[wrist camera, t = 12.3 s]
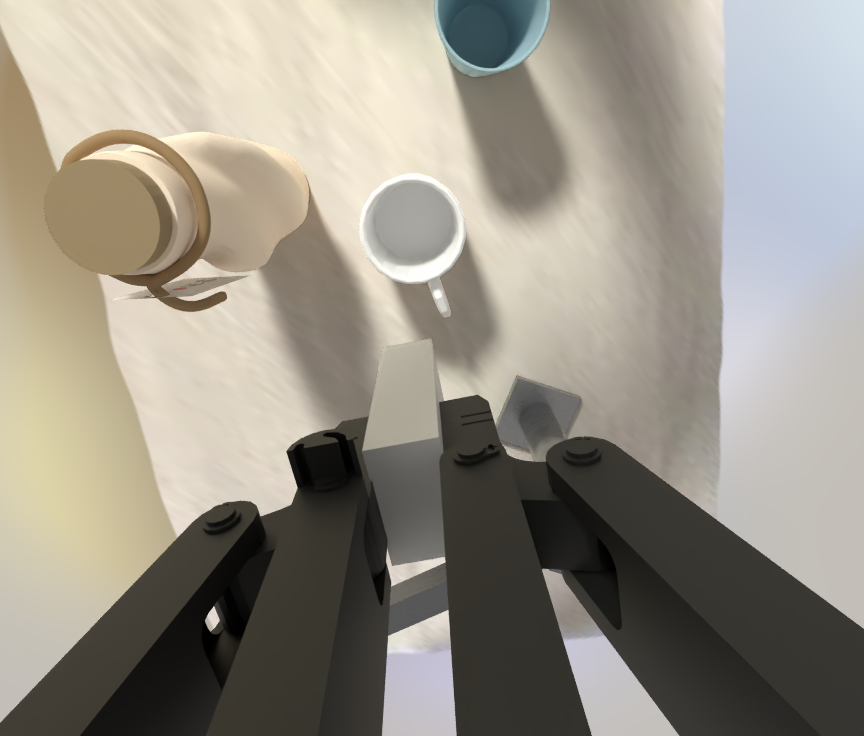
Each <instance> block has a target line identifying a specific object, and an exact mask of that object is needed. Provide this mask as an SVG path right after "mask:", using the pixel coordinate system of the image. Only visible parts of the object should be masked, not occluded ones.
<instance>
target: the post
mask: <svg viewBox="0 0 864 736" xmlns="http://www.w3.org/2000/svg"><path fill="white" fill-rule="evenodd" d="M581 400H582V399H581V398H580V396H577V395H574V394H571V393H568V392H565V391H562V390H559V389H556V388H553V387H550V386H547V385H544V384H541V383H538V382H535V381H532V380H529V379H526V378H523V377H520V376H516V379H515V381H514V383H513V385H512V388H511V390H510V392H509V395H508V397H507V399H506V402H505V404H504V406H503V409H502V411H501V413H500V416H499V418H498V420H497V423H496V425H495V426H496V429H497V433H498V436H499V440H500V441H504V442H507V443H510V444H513V445H516V446H519V447H523V448H526V449H529V450H530V452H531V454H532V457H533V459H534V462H546V454H547V451H548V450H549V449H550V448H551V447H552V446H554V445H555V444H557V443H559V442H562V441H564V440H568V439H567V437H566V435H565V433H566V431H567V429H568V427H569V425H570V423H571V421H572V419H573V416H574V414H575V412H576V410H577V408H578V406H579V404H580V402H581ZM549 570H550V571H553V572H557V573H560V574H562V573H561V570H558V569H549Z"/></svg>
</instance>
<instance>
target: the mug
mask: <svg viewBox="0 0 864 736" xmlns="http://www.w3.org/2000/svg"><path fill="white" fill-rule="evenodd" d="M359 231H360V242H361V245H362V247H363V250H364V252H365V255H366V257H367V259H368V260H369V261H370V262H371V264H372V265H373V266H374V267H375V268H376V270H377V271H378V272H380V273H381V274H383V275H385V276H386V277H388V278H389V279H391V280H393V281H397V282H401V283H405V284H424V283H428V286H429V288H430V291H431V294H432V296H433V299H434V301H435V303H436V306H437V308H438V310H439V312H440V313H441V315H442V316H443V317H444V318H447V317H450V316H451V309H450V306H449V303H448V300H447V297H446V294H445V291H444V288H443V285H442V283H441V280H440V277H441V276H442V275H443V274H445V273H446V272H447V271H448V270H450V269H451V268H452V267H453V265H454V264H455V262H456V261H457V259H458V258H459V256H460V255H461V253H462V250H463V246H464V243H465V239H466V219H465V217H464V214H463V211H462V208H461V205H460V203H459V202H458V200H457V199H456V198H455V196H454V195H453V194H452V192H451V191H450V190H449V189H448V188H447V187H445V186H444V185H443V184H441V183H440V182H438V181H437V180H435V179H434V178H432V177H429V176H426V175H422V174H419V173H415V174H403V175H400V176H398V177H396V178H393V179H391V180H389V181H386V182H384V183H383V184H382V185H381V186H380V187H379V188H377V189H376V190H375V191H374V192H373V193H372V194H371V195H370V197H369V199H368V201H367V202H366V204H365V206H364V207H363V210H362V214H361V219H360V223H359Z"/></svg>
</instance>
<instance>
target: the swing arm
mask: <svg viewBox="0 0 864 736" xmlns="http://www.w3.org/2000/svg"><path fill="white" fill-rule="evenodd" d="M541 569H543V568H541ZM446 610H449V607H448V591H447V576H446V563H443V564H441V565H439V566H437V567H434V568H432V569H430V570H428V571H425V572H423V573H421V574H419V575H416V576H414V577H412V578H410V579H408V580H405V581H403V582H401V583H399V584H396V585H394V586H392V587H391V594H390V610H389V627H388V636H389V635H391V634H393V633H396V632H398V631H400V630H402V629H405V628H407V627H409V626H412V625H414V624H416V623H419V622H421V621H423V620H426V619H428V618H430V617H433V616H435V615H437V614H439V613H442V612H444V611H446Z"/></svg>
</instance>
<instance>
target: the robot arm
mask: <svg viewBox="0 0 864 736" xmlns="http://www.w3.org/2000/svg"><path fill="white" fill-rule="evenodd" d="M286 452H287V455H288V458H289V461H290V465H291V468H292V471H293V474H294V477H295V480H296V484H297V487H298V489H297V491H296V494H295V497H294V499H293V502H292V505H290V506H288V507H285V508H283V509H281V510H278V511H275V512H272V513H270V514H267V515H264V516H261V517H260V514H259V511H258V508H257V506H256V505H255V504H253V503H252V502H248V501H236V502H227V503H223V504H222V505H221V504H220V505H218V506H215V507H213V508H212V509H211V510H209V511H207V512H206V513H204V514H202V515H201V516H200V517H199V518H197V519H196V520H195V521H194V522H192V524H191V525H190V526H189V527H188V528H187V529H186V530H185V531H184V532H183V533H182V534H181V535H180V536H179V537H178V538H177V539H176V540H175V541H174V542H173V543H172V544H171V546H169V547H168V549H167V550H166V551H165V552H164V553H163V554H162V555H161V556H160V557H159V558H158V559H157V560H156V561H155V562H154V563H153V564H152V565H151V566H150V567H149V568H148V569H147V570H146V571H145V573H144V574H143V575H142V576H141V577H140V578H139V579H138V580H137V581H136V582H135V583H134V584H133V585H132V586H131V587H130V588H129V589H128V590H127V591H126V592H125V593H124V594H123V596H122V597H121V598H120V599H119V600H118V601H117V602H116V603H115V604H114V605H113V606H112V607H111V608H110V609H109V610H108V611H107V612H106V613H105V614H104V615H103V616H102V617H101V618H100V619H99V620H98V622H97V623H96V624H95V625H94V626H93V627H92V628H91V629H90V630H89V631H88V632H87V633H86V634H85V635H84V636H83V637H82V638H81V639H80V640H79V641H78V642H77V644H75V645H74V647H73V648H72V649H71V650H70V651H69V652H68V653H67V654H66V655H65V656H64V657H63V658H62V659H61V660H60V661H59V662H58V663H57V664H56V665H55V667H54V668H52V669H51V670H50V672H49V673H48V674H47V675H46V676H45V677H44V678H43V679H42V680H41V681H40V682H39V683H38V684H37V685H36V686H35V687H34V688H33V689H32V690H31V691H30V692H29V693H28V695H27V696H26V697H25V698H24V699H23V700H22V701H21V702H20V703H19V704H18V705H17V706H16V707H15V708H14V709H13V710H12V711H11V712H10V713H9V714H8V715H7V716H6V717H5V718H4V720H3V721H2V722H1V723H0V736H382V724H383V708H384V692H385V676H386V675H385V674H386V659H387V643H388V627H389V610H390V594H391V579H390V575H389V571H388V568H387V564H386V554H387V548H388V552H389V556H390V560H391V563H392V566H394V565H400V564H405V563H411V562H417V561H423V560H428V559H434V558H440V557H445V560H446V576H447V591H448V607H449V623H450V638H451V654H452V668H453V683H454V700H455V716H456V731H457V736H592V735H591V732H590V728H589V725H588V722H587V718H586V715H585V712H584V708H583V705H582V702H581V698H580V695H579V692H578V689H577V685H576V682H575V678H574V675H573V672H572V668H571V665H570V662H569V659H568V655H567V652H566V649H565V645H564V642H563V639H562V635H561V632H560V629H559V625H558V622H557V619H556V615H555V612H554V609H553V605H552V602H551V599H550V595H549V592H548V589H547V585H546V582H545V579H544V576H543V572H542V569H541V568H543V569H558V570H561V573H562V576H563V578H564V580H565V582H566V584H567V585H568V586H569V588H570V589H571V590H572V592H573V593H574V594H575V596H576V597H577V599H578V600H579V601H580V603H581V604H582V605H583V607H584V608H585V609H586V611H587V612H588V613H589V615H590V616H591V617H592V619H593V620H594V621H595V623H596V624H597V625H598V627H599V628H600V629H601V631H602V632H603V633H604V635H605V636H606V638H607V639H608V640H609V642H610V643H611V644H612V645H613V647H614V648H615V649H616V651H617V652H618V654H619V655H620V656H621V658H622V659H623V660H624V662H625V663H626V664H627V666H628V667H629V668H630V670H631V671H632V673H633V674H634V675H635V676H636V678H637V679H638V681H639V682H640V683H641V685H642V686H643V687H644V688H645V690H646V691H647V693H648V694H649V695H650V697H651V698H652V699H653V701H654V702H655V703H656V705H657V706H658V708H659V709H660V710H661V712H662V713H663V714H664V716H665V717H666V718H667V720H668V721H669V722H670V724H671V725H672V726H673V728H674V729H675V730H676V732H677V733H678V734H679V736H864V629H863V628H862V627H861V626H859V625H858V624H856V623H855V622H854V621H852V620H851V619H850V618H848V617H847V616H846V615H844V614H843V613H842V612H840V611H839V610H838V609H836V608H835V607H833V606H832V605H831V604H829V603H828V602H827V601H825V600H824V599H823V598H821V597H820V596H819V595H817V594H816V593H814V592H813V591H812V590H810V589H809V588H808V587H806V586H805V585H804V584H802V583H801V582H800V581H798V580H797V579H795V578H794V577H793V576H792V575H790V574H789V573H788V572H786V571H785V570H784V569H782V568H781V567H779V566H778V565H777V564H775V563H774V562H773V561H771V560H770V559H769V558H767V557H766V556H765V555H763V554H762V553H761V552H759V551H758V550H756V549H755V548H754V547H752V546H751V545H750V544H748V543H747V542H746V541H744V540H743V539H742V538H740V537H739V536H738V535H736V534H735V533H734V532H732V531H731V530H729V529H728V528H727V527H725V526H724V525H723V524H721V523H720V522H719V521H717V520H716V519H715V518H713V517H712V516H711V515H709V514H708V513H707V512H705V511H704V510H702V509H701V508H700V507H698V506H697V505H696V504H694V503H693V502H692V501H690V500H689V499H688V498H686V497H685V496H684V495H682V494H681V493H679V492H678V491H677V490H675V489H674V488H673V487H671V486H670V485H669V484H667V483H666V482H665V481H663V480H662V479H661V478H659V477H658V476H657V475H655V474H654V473H652V472H651V471H650V470H648V469H647V468H646V467H644V466H643V465H642V464H640V463H639V462H638V461H636V460H635V459H634V458H632V457H631V456H630V455H628V454H627V453H625V452H624V451H623V450H621V449H620V448H619V447H617V446H616V445H615V444H613V443H611V442H609V441H607V440H604V439H599V438H594V437H585V436H584V437H575V438H573V439H568V440H564V441H562V442H559V443H557V444H555V445H554V446H552V447H551V448H550V449H549V450H548V451H547V454H546V462H532V461H523V460H519V459H515V458H513V457H511V456H509V455H508V454H507V453H506V450H505V448H504V447H503V446H502V444H501V443H500V440H499V436H498V433H497V429H496V426H495V423H494V420H493V416H492V413H491V409H490V406H489V402H488V401H487V400H485V399H483V398H482V397H480V396H479V395H475V396H469V397H464V398H459V399H453V400H448V401H444V399H443V394H442V389H441V384H440V379H439V374H438V369H437V364H436V359H435V354H434V349H433V344H432V339H431V338H430V339H425V340H420V341H415V342H409V343H404V344H399V345H394V346H388V347H383V348H382V353H381V358H380V363H379V368H378V373H377V378H376V383H375V388H374V393H373V398H372V403H371V408H370V413H369V417H364V418H359V419H354V420H348V421H343V422H341V423H340V424H339V425H338V426H337V427H336V428H335V429H333V430H324V431H320V432H317V433H313V434H310V435H308V436H306V437H304V438H301V439H300V440H298V441H297V442H295V443H294V444H292V445H291V446H290V448H289V449H288V450H287V451H286ZM213 606H214V607H215V609H216V612H217V614H218V617H219V619H220V621H219V623H218V624H217V626H216V627H215V628H214V629H213V630H212V631H211V632H210V631H209V629H208V628H207V625H206V623H205V619H206V617H207V615H208V613H209V612H210V610H211V609H212V608H213Z"/></svg>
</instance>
